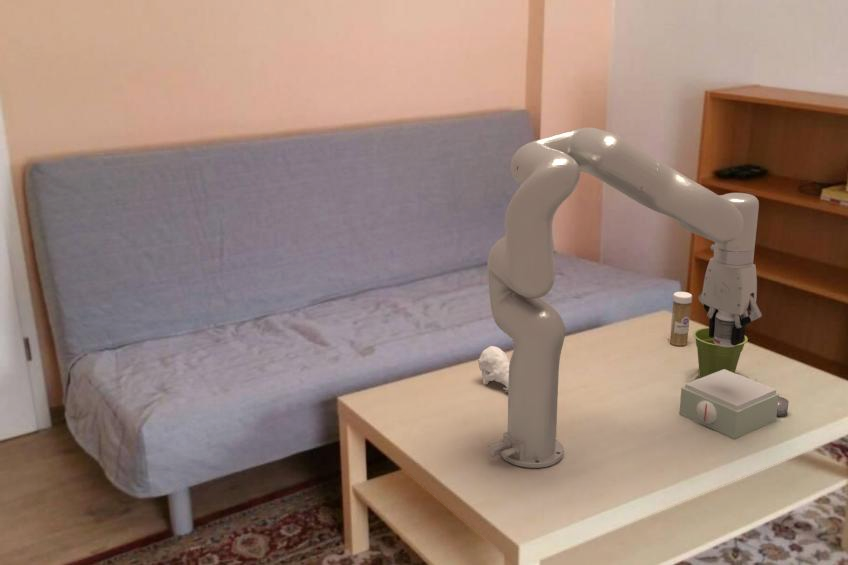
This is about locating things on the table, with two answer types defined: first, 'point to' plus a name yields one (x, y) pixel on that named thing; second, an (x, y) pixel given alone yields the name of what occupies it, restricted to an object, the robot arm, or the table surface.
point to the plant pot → (715, 354)
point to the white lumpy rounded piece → (494, 366)
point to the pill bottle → (724, 329)
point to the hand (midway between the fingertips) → (725, 338)
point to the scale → (729, 403)
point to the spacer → (782, 407)
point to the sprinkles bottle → (680, 318)
